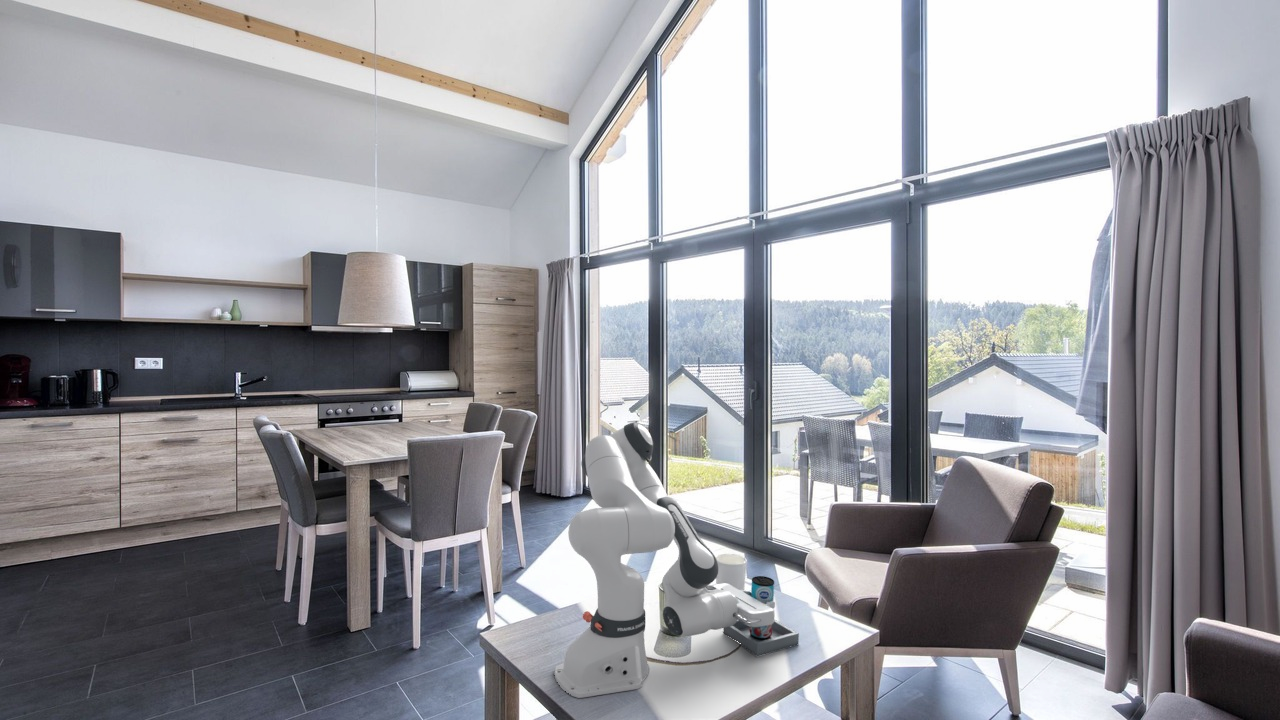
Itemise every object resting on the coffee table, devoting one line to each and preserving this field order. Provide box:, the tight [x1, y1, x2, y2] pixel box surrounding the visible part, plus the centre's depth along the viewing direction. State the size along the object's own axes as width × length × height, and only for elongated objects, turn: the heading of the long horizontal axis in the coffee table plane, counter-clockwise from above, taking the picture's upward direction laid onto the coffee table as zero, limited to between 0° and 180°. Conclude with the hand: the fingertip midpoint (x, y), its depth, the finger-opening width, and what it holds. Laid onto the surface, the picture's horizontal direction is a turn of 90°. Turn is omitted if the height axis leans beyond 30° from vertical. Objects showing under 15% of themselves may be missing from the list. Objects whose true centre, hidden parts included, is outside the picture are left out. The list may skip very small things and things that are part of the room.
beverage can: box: [749, 575, 775, 640], centre depth 164 cm, size 6×6×15 cm
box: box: [722, 618, 800, 657], centre depth 163 cm, size 14×14×3 cm
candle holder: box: [715, 553, 748, 590], centre depth 191 cm, size 10×10×12 cm
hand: (763, 598), depth 164 cm, fingers closed on beverage can, 6 cm apart
